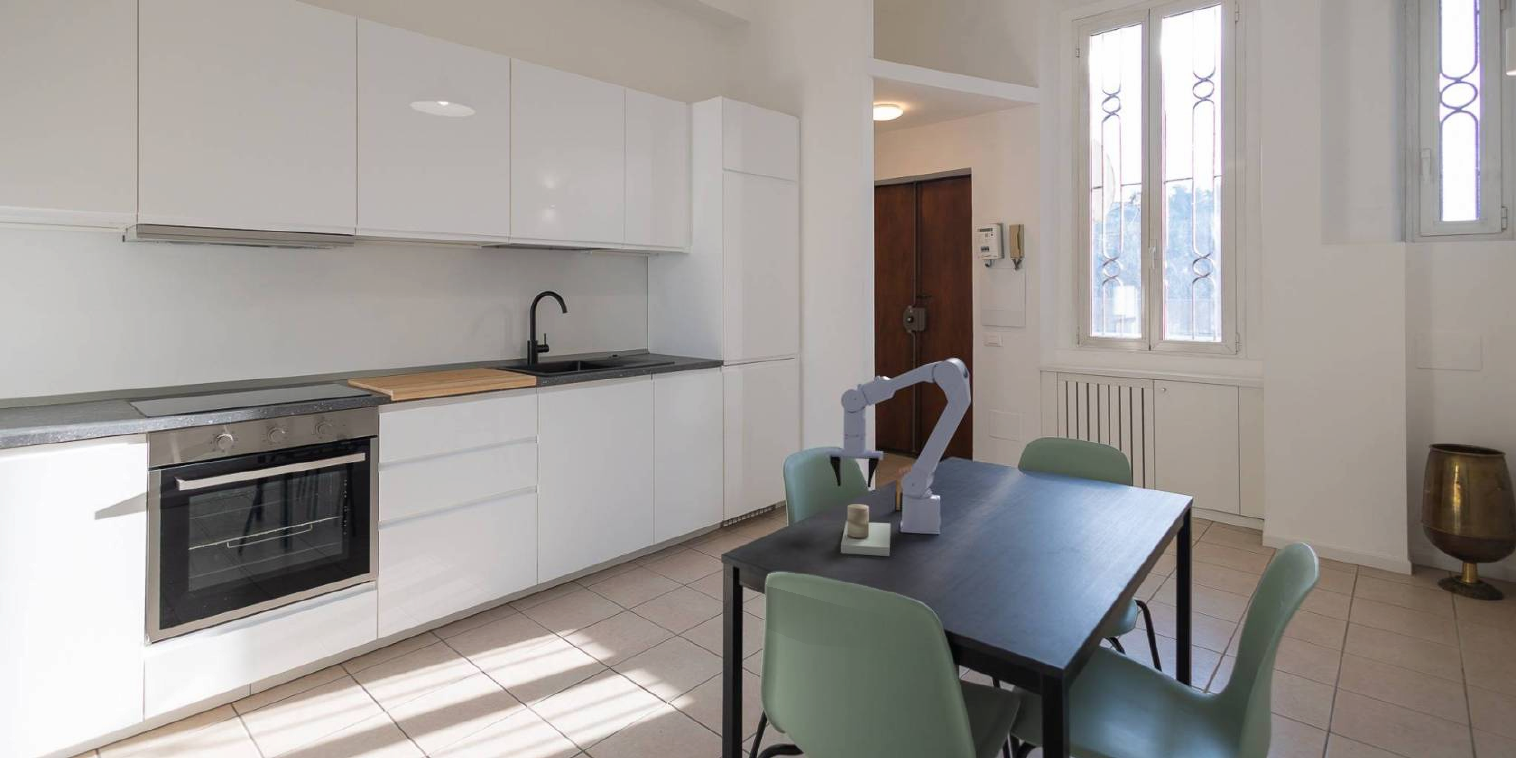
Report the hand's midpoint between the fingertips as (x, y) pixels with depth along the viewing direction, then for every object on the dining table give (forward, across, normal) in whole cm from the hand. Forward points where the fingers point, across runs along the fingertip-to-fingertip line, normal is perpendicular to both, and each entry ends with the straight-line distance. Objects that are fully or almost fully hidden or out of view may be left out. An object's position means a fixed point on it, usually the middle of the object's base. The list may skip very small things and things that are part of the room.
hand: (854, 485), depth 196 cm
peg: (+9, -2, +18) cm, 20 cm away
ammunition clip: (+10, -14, -16) cm, 23 cm away
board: (+9, -4, +16) cm, 19 cm away
